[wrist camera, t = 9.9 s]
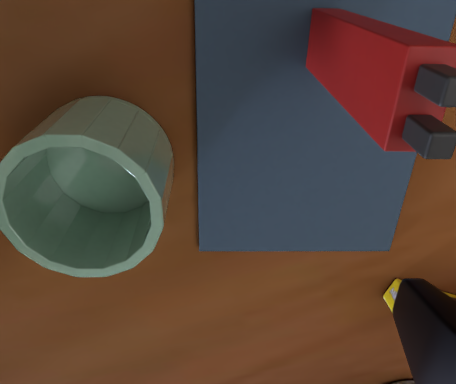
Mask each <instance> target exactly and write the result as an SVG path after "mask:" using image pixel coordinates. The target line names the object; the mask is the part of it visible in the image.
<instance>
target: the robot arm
mask: <svg viewBox="0 0 456 384" xmlns="http://www.w3.org/2000/svg"><path fill="white" fill-rule="evenodd" d="M393 317H394V320H395V324H396V327H397V330H398V333H399V336H400V339H401V342H402V345H403V348H404V352H405V355H406V358H407V361H408V364H409V367H410V370H411V373H412V376H413V379H414V382H415V384H456V300H455V299H453V298H452V297H450V296H449V295H447V294H446V293H444V292H442V291H441V290H439V289H438V288H436V287H435V286H433V285H432V284H430V283H429V282H427V281H425V280H424V279H419V278H415V279H403V280H402V281H401V283H400V285H399V288H398V292H397V295H396V298H395V301H394V305H393Z"/></svg>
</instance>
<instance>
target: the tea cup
mask: <svg viewBox="0 0 456 384" xmlns="http://www.w3.org/2000/svg"><path fill="white" fill-rule="evenodd" d="M173 177H174V156H173V151H172V147H171V144H170V142H169V139H168V137H167V136H166V134H165V132H164V130H163V129H162V128H161V126H160V125H159V124H158V123H157V122H156V121H155V120H154V119H153V118H152V117H151V116H150V115H149V114H148V113H146V112H145V111H144V110H142V109H141V108H139V107H138V106H136V105H134V104H132V103H129V102H127V101H124V100H121V99H118V98H114V97H109V96H88V97H83V98H79V99H76V100H73V101H71V102H69V103H67V104H65V105H63V106H62V107H60V108H58V109H57V110H55V111H54V112H53V113H52V114H50V115H49V116H48V117H47V118H46V119H45V120H44V121H42V122H41V123H40V124H39V125H38V126H37V127H36V128H34V129H33V130H32V131H31V132H30V133H29V134H27V135H26V136H25V137H24V138H23V139H22V140H21V141H19V142H18V143H17V144H16V145H15V146H14V147H13V148H12V149H11V150H10V151H9V152H8V153H7V155H6V156H5V157H4V158H3V159H2V161H1V162H0V230H1V231H2V232H3V234H4V235H5V236H6V237H7V238H8V240H9V241H10V242H11V243H12V244H13V246H14V247H15V248H16V249H17V250H18V251H19V252H20V253H22V254H24V255H25V256H27V257H28V258H30V259H32V260H33V261H35V262H36V263H38V264H39V265H41V266H43V267H44V268H47V269H50V270H53V271H57V272H60V273H64V274H67V275H71V276H74V277H106V276H107V277H108V276H111V275H114V274H117V273H120V272H123V271H126V270H129V269H132V268H133V267H135V266H136V265H137V264H138V263H140V262H141V261H142V260H143V259H144V258H145V257H147V256H148V255H149V254H150V253H151V252H152V251H153V250H154V248H155V246H156V244H157V241H158V239H159V237H160V234H161V232H162V230H163V227H164V222H165V217H166V212H167V207H168V202H169V197H170V193H171V188H172V183H173Z"/></svg>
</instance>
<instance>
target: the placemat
mask: <svg viewBox="0 0 456 384" xmlns="http://www.w3.org/2000/svg"><path fill="white" fill-rule="evenodd" d="M194 3H195V54H196V105H197V157H198V208H199V251H389V250H390V247H391V243H392V240H393V236H394V233H395V229H396V225H397V222H398V218H399V215H400V211H401V208H402V204H403V201H404V197H405V194H406V190H407V186H408V183H409V179H410V176H411V172H412V169H413V165H414V162H415V158H416V155H417V152H408V151H384V150H383V149H382V148H381V147H380V146H379V145H378V144H377V143H376V142H375V141H374V140H373V139H372V138H371V136H370V135H369V134H368V133H367V132H366V131H365V130H364V129H363V128H362V127H361V126H360V125H359V124H358V123H357V121H356V120H355V119H354V118H353V117H352V116H351V115H350V114H349V113H348V112H347V111H346V110H345V109H344V108H343V106H342V105H341V104H340V103H339V102H338V101H337V100H336V99H335V98H334V97H333V96H332V95H331V94H330V93H329V91H328V90H327V89H326V88H325V87H324V86H323V85H322V84H321V83H320V82H319V81H318V80H317V79H316V78H315V76H314V75H313V74H312V73H311V72H310V71H309V70H308V69H307V68H306V59H307V51H308V42H309V34H310V25H311V16H312V9H313V8H336V9H343V10H346V11H349V12H353V13H356V14H359V15H363V16H366V17H369V18H372V19H376V20H379V21H382V22H385V23H389V24H392V25H395V26H398V27H402V28H405V29H408V30H412V31H415V32H418V33H421V34H425V35H428V36H431V37H434V38H438V39H441V40H444V41H449V38H450V34H451V31H452V27H453V24H454V20H455V16H456V0H194Z"/></svg>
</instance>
